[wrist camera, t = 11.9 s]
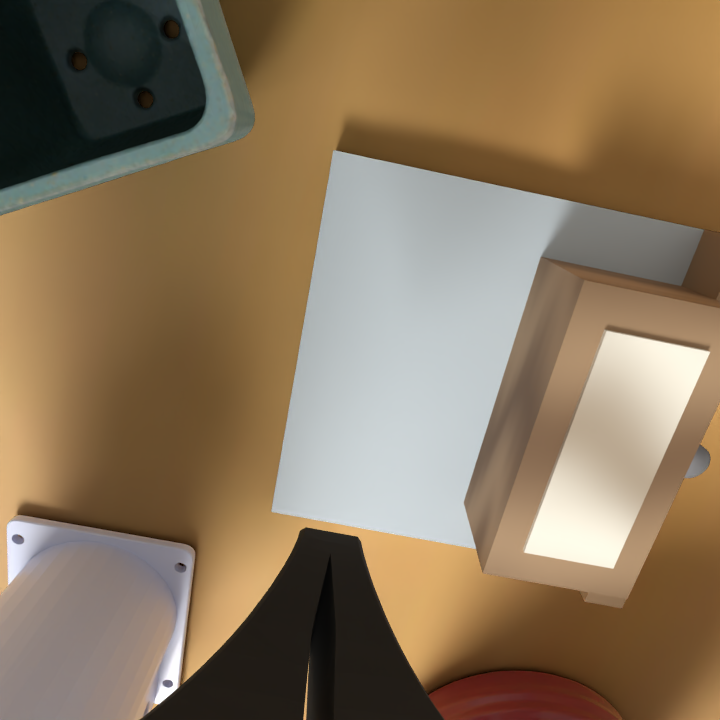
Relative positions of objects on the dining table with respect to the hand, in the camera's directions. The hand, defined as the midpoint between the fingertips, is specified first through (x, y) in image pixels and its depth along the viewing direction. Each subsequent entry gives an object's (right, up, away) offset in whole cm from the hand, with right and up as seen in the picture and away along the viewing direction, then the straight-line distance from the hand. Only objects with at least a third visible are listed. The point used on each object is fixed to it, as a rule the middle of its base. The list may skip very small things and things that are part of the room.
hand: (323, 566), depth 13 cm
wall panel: (+5, +4, +8) cm, 11 cm away
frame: (+8, +3, +8) cm, 12 cm away
